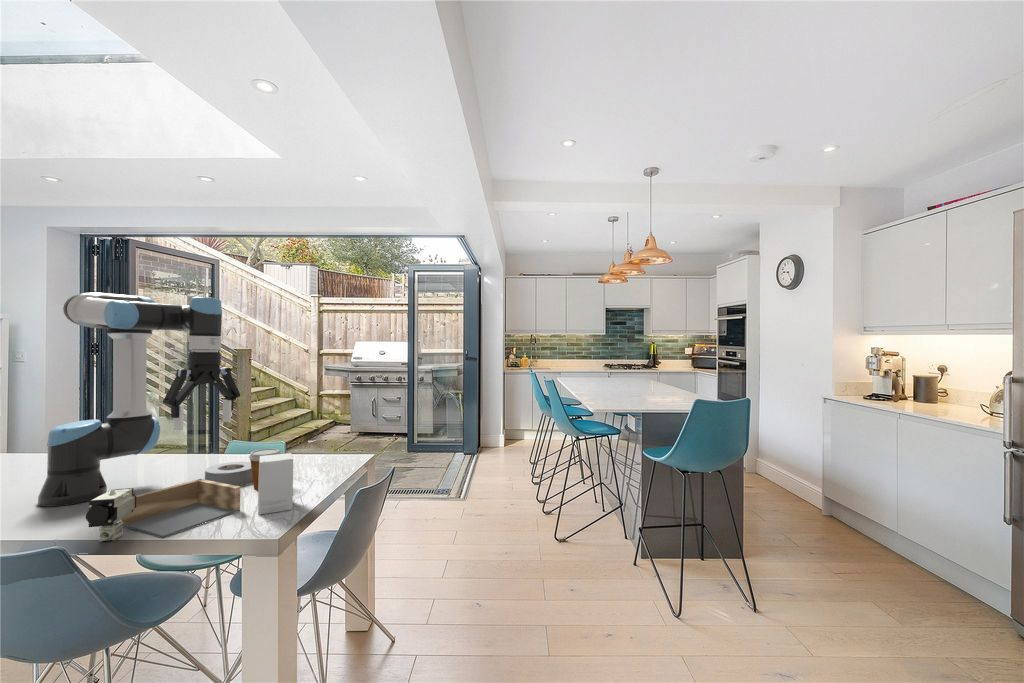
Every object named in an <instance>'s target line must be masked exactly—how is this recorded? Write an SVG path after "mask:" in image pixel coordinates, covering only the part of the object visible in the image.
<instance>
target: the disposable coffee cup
mask: <svg viewBox="0 0 1024 683" xmlns="http://www.w3.org/2000/svg"><path fill="white" fill-rule="evenodd" d="M277 454H282V453H281V452H280V449H278V448H264V449H262V448H261V449H257V450H253V451H251V452H250V454H249V456H248V458H249V460H250V461H249V462H251V469H252V477H253V481H252V482H253V483H252V484H253V489H254V490H256V491H257V490H258V488H259V458H260V456H266V455H277Z"/></svg>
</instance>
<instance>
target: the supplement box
mask: <svg viewBox="0 0 1024 683" xmlns="http://www.w3.org/2000/svg"><path fill="white" fill-rule="evenodd" d="M257 492H258V494H257V496H258V498H257V499H258V500H257V503H258V504H257V509H258V511H257V512H258V515H266V514H271V513H279V512H284V511H291V510H293V500H294V499H293V498H294V496H293V495H294V458H293V455H292V453H291V452H288V453H287V452H286V453H281V454H277V455H266V456H260V458H259V488H258V491H257Z"/></svg>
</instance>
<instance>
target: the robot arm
mask: <svg viewBox="0 0 1024 683" xmlns="http://www.w3.org/2000/svg"><path fill="white" fill-rule="evenodd" d="M189 301H190V302H189V304H188V305H187V304H185V305H183V304H173V303H171V304H169V303H159V302H158V303H157V302H155V301H154V299H152V298H150V297H147V296H141V295H132V294H121V293H120V294H119V293H118V294H117V293H107V292H99V291H98V292H96V291H95V292H92V291H91V292H82V293H78V294H77V293H76V294H75V295H72V296H71V297H69V298H68V299H67V300H66V301H64V304H63V307H62V311H63V314H64V316H65V317H66V319H68V321H70V322H71V323H73V324H75V325H78V326H81V327H85V328H92V329H106V335H107V336H108V337H110V338H111V339H112V340H113V342H112V345H113V346H112V348H113V349H112V350H113V351H112V354H113V356H112V357H113V358H112V359H113V360H112V366H113V368H112V371H113V372H112V374H113V376H112V379H113V380H112V411H111V413H110V414H108V415H107V416H106V422H104V423H102V421H101V420H100V419H86V420H77V421H73V422H68V423H64V424H61V425H58V426H55V427H53V428H52V429H51V430H50V431H49V433H48V438H47V443H46V445H47V467H46V468H47V469H46V470H47V472H46V475H47V476H46V479H45V481H44V483H43V485H42V488H41V490H40V491H39V494H38V496H37V505H38V506H41V507H63V506H69V505H75V504H82V503H85V502H89V501H91V500H93V499H95V498H97V497H98V496H100V495H102V494H104V493H106V492H108V486H107V483H106V481H105V478H104V476H103V474H102V471H101V461H102V460H109V459H114V458H115V459H116V458H119V457H120V458H121V457H127V456H131V455H133V456H134V455H135V456H136V455H139V454H143V453H147V452H149V451H151V450H153V449H154V448H155V447H156V445H157V444H158V441H159V439H160V436H161V425H160V421H159V419H157V418H156V417H154V416H153V413H152V411H150V410H149V409H148V408H147V340H148V338H150V337H152V336H153V331H155V330H156V331H177V332H189V337H188V338H189V341H188V350H189V351H190V352H189V353H188V365H189V368H188V369H186V368H177V369H176V372H175V373H176V374H175V378H174V380H173V381H172V383H171V385H170V387H169V389H168V390H167V392H166V395H165V396H164V399H163V400H162V404H164V405H167V406H168V405H169V406H170V417H171V418H172V419H173V430H176V431H184V411H185V410H184V409H185V408H184V407H185V406H184V405H181V404H182V403H183V402H184V401H185V400H186V399H187V397H188V396H189V395H190V394H191V392H193V390H194V389H195V388H196V387H197V386H199V385H206V384H208V385H210V384H212V385H213V386H214V387H215V388H216V389H217V390H218V392H219V393H220V394H221V395H222V396H223V397H224V399H222V414H221V415H222V416H221V417H222V418H221V419H222V420H221V421H222V422H223V423H232V411H234V403H235V402H234V401H236V400H237V398H239V397H241V393H240V391H239V389H238V386H237V385H236V382H235V380H234V378H233V376H232V371H231V367H227V366H225V367H224V366H222V367H221V368H220V365H221V363H222V361H221V360H222V353H221V352H220V351H221V350H222V325H223V324H222V320H223V309H222V300H221V299H219V298H216V297H211V296H210V297H209V296H193V297H191V298H190V300H189ZM220 375H221V377H222V379H221V378H220V377H219V376H220ZM187 377H189V379H187ZM186 379H187V381H186ZM223 382H224V383H225V384H224V383H223ZM184 384H185V385H184Z"/></svg>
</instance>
